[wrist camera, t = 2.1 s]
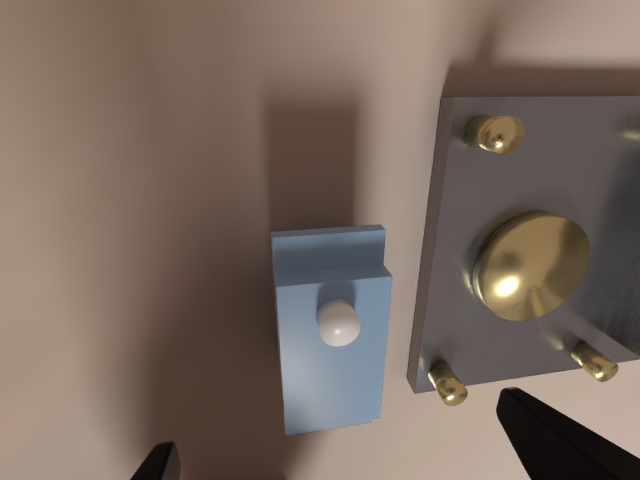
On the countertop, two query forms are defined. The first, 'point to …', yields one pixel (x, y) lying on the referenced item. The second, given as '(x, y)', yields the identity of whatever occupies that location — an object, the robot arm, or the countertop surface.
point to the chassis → (529, 242)
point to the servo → (331, 325)
